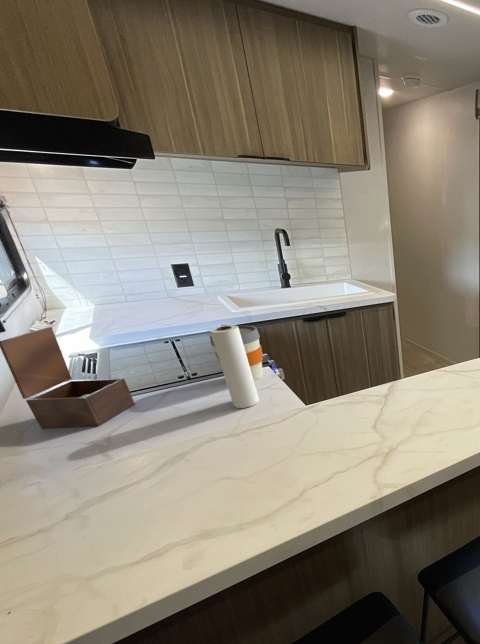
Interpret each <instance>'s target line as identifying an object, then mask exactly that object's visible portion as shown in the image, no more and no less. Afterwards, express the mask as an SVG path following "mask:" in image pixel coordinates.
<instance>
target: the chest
mask: <svg viewBox="0 0 480 644" xmlns="http://www.w3.org/2000/svg"><path fill="white" fill-rule="evenodd" d="M85 394H90V395H88V396H86V397H81V396H83V395H85ZM25 402H26V403H27V406H28V407H29V409H30V410H31V412H32V414H33V416H34V418H35V420H36V422H37V423H38V425H39V427H40V429H63V428H65V429H66V428H67V429H68V428H91V427H92V428H93V427H100V426H102V425H103V424H105V423H107V422H108V421H110V420H112V419H113V418H115V417H116V416H118V415H120V414H122V413H123V412H126V411H127V410H128V409H130V408H132V407H133V406H135V405H136V403H135V400H134V398H133V396H132V393H131V392H130V389H129V386H128V384H127V381H126V380H125V378H106V379H105V378H98V379H97V378H96V379H70V380H68V381H65V382H63V383H61V384H59V385H56V386H54V387H52V388H49V389H47V390H45V391H43V392H40V393H38V394H36V395H34V396H31V397H29V398H27V399H25Z"/></svg>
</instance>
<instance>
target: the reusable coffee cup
mask: <svg viewBox="0 0 480 644" xmlns="http://www.w3.org/2000/svg"><path fill="white" fill-rule="evenodd" d="M237 326H238V328H239V331H240V335H241V338H242V342H243V345H244V349H245V352H246V356H247V359H248V363H249V366H250V370H251V373H252V377H253V380H254V382H255V381H257V380H259V379H261V378H262V377H264V370H263V369H264V368H263V360H264V358H263V348H262V344H260V338H261V335H260V334H259V330H258V329H257V327H256V326H254V325H237ZM208 336H209V341H210V345H211V346H212V347H213V349H214V351H215V353H214V355H215V356H216V359H217V361H218V363H219V364H220V361H219V357H218V354H217V351H216V348H215V345H214V342H213V338H212V335H211V332H210V333H209V335H208ZM220 366H221V364H220Z"/></svg>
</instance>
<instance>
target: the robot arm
mask: <svg viewBox="0 0 480 644" xmlns="http://www.w3.org/2000/svg"><path fill="white" fill-rule="evenodd" d="M7 297H8V292H7V289H6V287H5V285H4V283H3V282H2V279H0V308H1V307H2V306H4V305H6V304H7V303H9V302H10V301H9V298H7ZM6 332H7V330H6V328H5V326H4V324H3V322H2V320H1V319H0V334H1V333H6Z"/></svg>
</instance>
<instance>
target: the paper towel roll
mask: <svg viewBox="0 0 480 644" xmlns="http://www.w3.org/2000/svg"><path fill="white" fill-rule="evenodd" d="M238 326H239V325H234V324H221V325H220V326H217V327H214V328H212V329H210V330H209V332H210V333H211V335H212V338H213V342H214V345H215V348H216V351H217V354H218V357H219V360H218V362H219V361H220V362H219V364H221V365H220V367H221V369H222V374H223V376H224V379H225V383H226V386H227V389H228V391H229V394H230V398H231V401H232V402H231V403H232V405H233V407H234V408H237V409H244V408H245V409H246V408H250V407H253V406H256V405H257V404H258V403H259V402H260V398H259V394H258V391H257V387H256V383H255V381H254V380H253V377H252V373H251V370H250V366H249V363H248V359H247V356H246V352H245V349H244V345H243V342H242V338H241V335H240V331H239V328H238ZM216 351H215V352H216Z"/></svg>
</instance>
